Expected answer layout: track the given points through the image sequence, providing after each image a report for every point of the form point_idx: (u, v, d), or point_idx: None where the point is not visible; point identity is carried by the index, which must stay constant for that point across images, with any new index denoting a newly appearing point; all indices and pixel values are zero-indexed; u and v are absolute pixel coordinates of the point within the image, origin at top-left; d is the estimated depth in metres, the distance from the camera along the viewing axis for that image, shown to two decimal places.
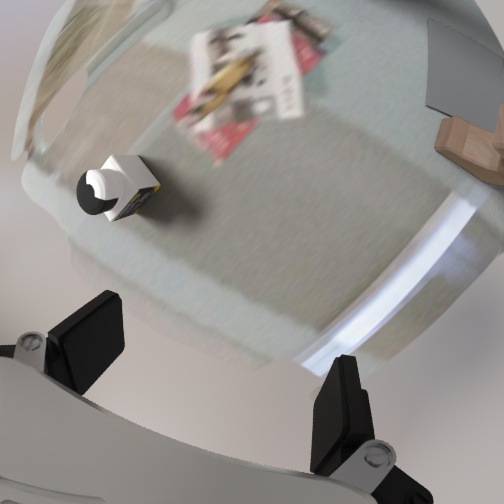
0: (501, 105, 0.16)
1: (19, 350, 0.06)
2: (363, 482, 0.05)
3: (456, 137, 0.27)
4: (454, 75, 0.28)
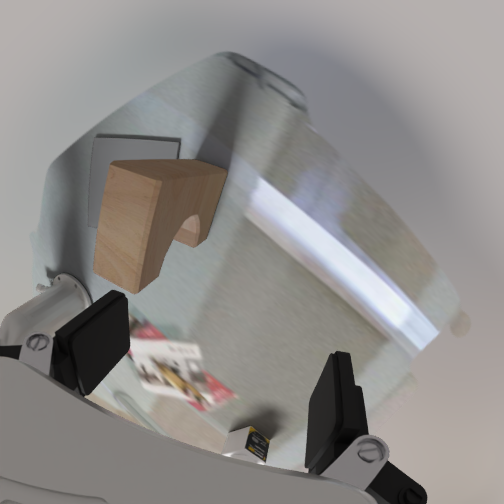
0: None
1: (26, 350, 0.06)
2: (357, 477, 0.05)
3: (182, 237, 0.38)
4: None
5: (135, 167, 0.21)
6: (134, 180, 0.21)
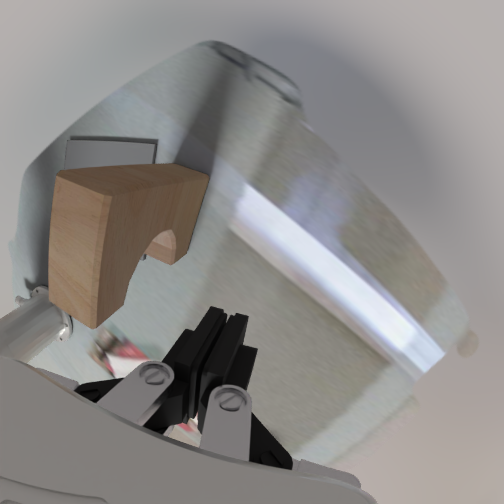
0: None
1: (144, 386, 0.07)
2: (235, 429, 0.06)
3: (157, 254, 0.32)
4: None
5: (82, 178, 0.15)
6: (80, 195, 0.15)
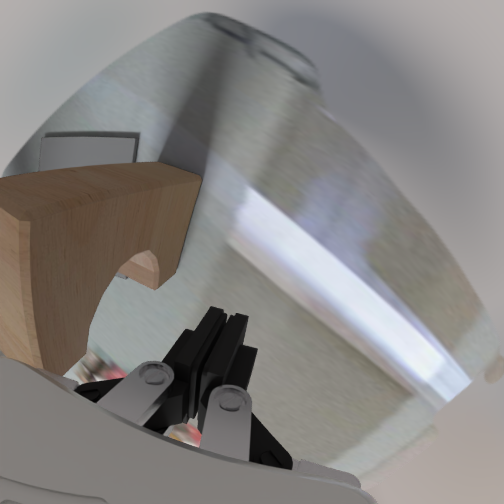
0: None
1: (144, 386, 0.07)
2: (235, 429, 0.06)
3: (137, 276, 0.25)
4: None
5: (1, 193, 0.08)
6: None
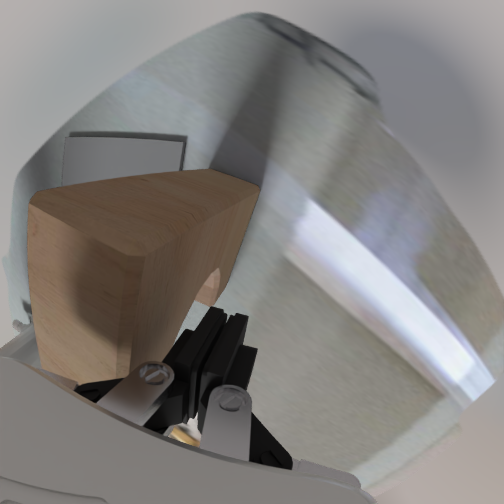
0: None
1: (144, 386, 0.07)
2: (235, 429, 0.06)
3: None
4: None
5: (78, 211, 0.07)
6: (76, 248, 0.07)
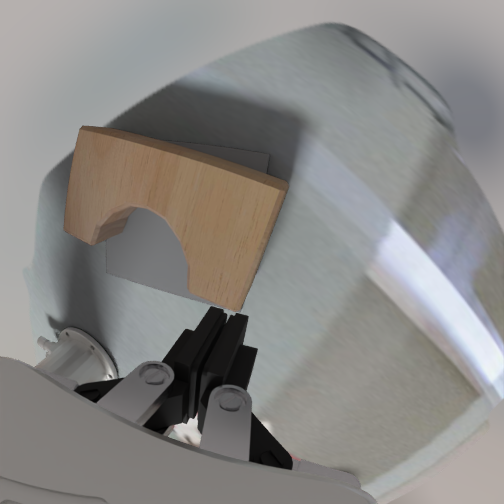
0: None
1: (144, 386, 0.07)
2: (235, 429, 0.06)
3: None
4: (179, 255, 0.29)
5: (99, 127, 0.23)
6: None
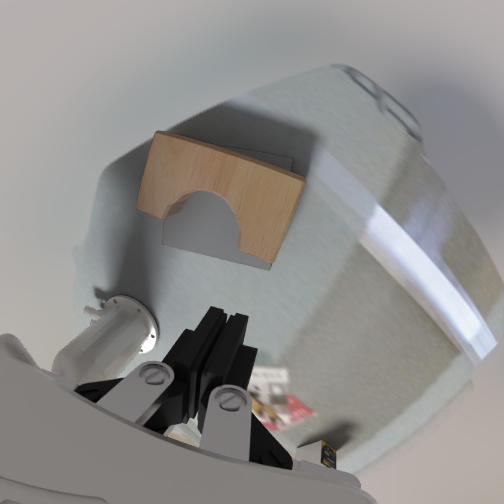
0: None
1: (144, 386, 0.07)
2: (235, 429, 0.06)
3: None
4: (225, 228, 0.40)
5: (167, 132, 0.35)
6: None
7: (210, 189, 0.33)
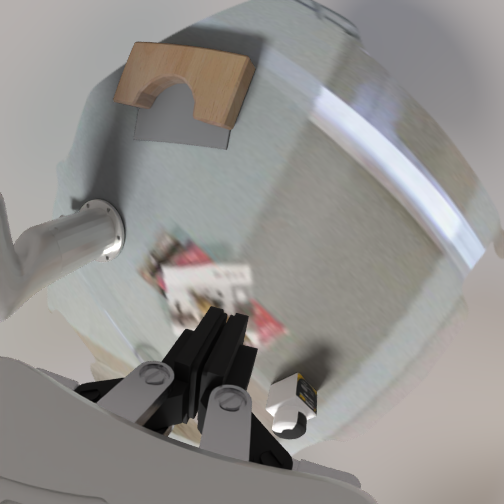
0: (145, 108, 0.41)
1: (144, 386, 0.07)
2: (235, 429, 0.06)
3: None
4: (187, 116, 0.41)
5: None
6: None
7: (172, 73, 0.34)
